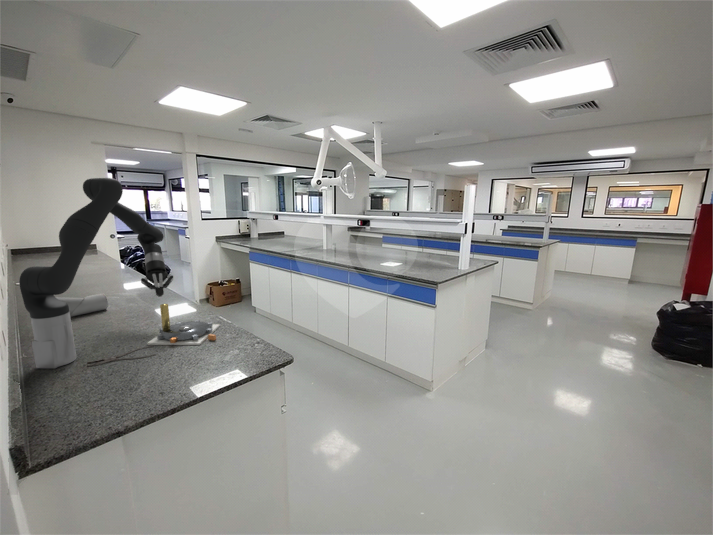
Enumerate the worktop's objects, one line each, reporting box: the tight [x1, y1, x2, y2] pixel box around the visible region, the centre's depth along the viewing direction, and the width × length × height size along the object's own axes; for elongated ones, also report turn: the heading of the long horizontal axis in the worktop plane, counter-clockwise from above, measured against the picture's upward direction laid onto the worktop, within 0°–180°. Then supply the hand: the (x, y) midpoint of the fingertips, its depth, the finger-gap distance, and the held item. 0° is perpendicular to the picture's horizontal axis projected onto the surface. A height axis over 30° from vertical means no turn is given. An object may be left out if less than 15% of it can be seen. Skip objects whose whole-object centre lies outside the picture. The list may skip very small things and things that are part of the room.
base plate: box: [147, 323, 221, 346], centre depth 129 cm, size 20×24×2 cm
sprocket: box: [156, 303, 213, 343], centre depth 128 cm, size 21×21×12 cm
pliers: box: [86, 345, 157, 368], centre depth 108 cm, size 10×1×20 cm
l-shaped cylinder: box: [55, 293, 109, 318], centre depth 151 cm, size 18×11×20 cm
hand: (160, 295), depth 134 cm, fingers closed
